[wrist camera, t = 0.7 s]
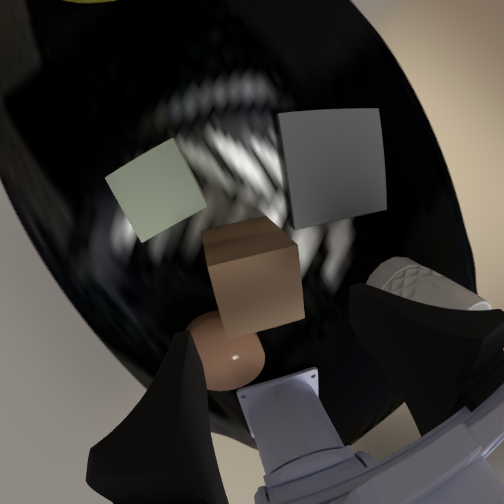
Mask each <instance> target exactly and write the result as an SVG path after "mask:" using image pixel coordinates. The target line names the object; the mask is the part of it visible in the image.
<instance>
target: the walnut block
mask: <svg viewBox="0 0 504 504" xmlns="http://www.w3.org/2000/svg"><path fill="white" fill-rule="evenodd" d="M201 233H202V239H203V245H204V250H205V256H206V261H207V267H208V271H209V275H210V279H211V282H212V286H213V290H214V294H215V298H216V301H217V305H218V309H219V312H220V316H221V320H222V323H223V327H224V330H225V334H226V337H227V339H231V338H235V337H239V336H243V335H247V334H251V333H255V332H258V331H262V330H266V329H269V328H273V327H276V326H280V325H283V324H287V323H290V322H293V321H297V320H300V319H303V318H305V315H304V303H303V292H302V281H301V271H300V261H299V252H298V245H297V244H296V243H295V242H294V241H293V240H292V239H291V238H290V237H289V236H288V235H287V234H285V233H284V232H283V231H282V230H281V229H280V228H279V227H278V226H277V225H276V224H274V223H273V222H272V221H271V220H270V219H269V218H268V217H267V216H264V217H260V218H255V219H251V220H246V221H242V222H237V223H233V224H229V225H224V226H220V227H216V228H211V229H207V230H203V231H201Z"/></svg>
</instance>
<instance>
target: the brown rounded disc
mask: <svg viewBox="0 0 504 504" xmlns="http://www.w3.org/2000/svg"><path fill="white" fill-rule="evenodd" d="M187 330H190V332H191V334H192V337H193V340H194V343H195V345H196V348H197V351H198V353H199V356H200V358H201V361H202V363H203V368H204V373H205V378H206V384H207V389H208V390H213V391H227V390H233V389H237V388H240V387H242V386H244V385H246V384H248V383H250V382H251V381H252V380H254V379H255V378H256V377H257V376H258V375H259V373H260V372H261V370H262V368H263V366H264V362H265V354H264V351H263V348H262V345H261V343H260V340H259V338H258V335H257V333H256V332H255V333H251V334H247V335H243V336H239V337H235V338H231V339H227V337H226V334H225V330H224V327H223V323H222V320H221V316H220V312H219V310H215V311H210V312H207V313H204V314H202V315H200V316H198V317H197V318H195V319H194V320H193V321H192V322H191V323H190V324H189V325H188V327H187V328H186V330H185V331H187Z"/></svg>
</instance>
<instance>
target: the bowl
mask: <svg viewBox="0 0 504 504" xmlns="http://www.w3.org/2000/svg"><path fill="white" fill-rule="evenodd" d="M64 1H70V2H76V3H101V2H109V1H115V0H64Z"/></svg>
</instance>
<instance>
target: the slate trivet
mask: <svg viewBox="0 0 504 504" xmlns="http://www.w3.org/2000/svg"><path fill="white" fill-rule="evenodd" d="M276 117H277V123H278V129H279V136H280V142H281V148H282V155H283V161H284V168H285V175H286V182H287V189H288V196H289V203H290V211H291V219H292V227H293V229H294V230H297V229H302V228H306V227H311V226H315V225H319V224H324V223H328V222H333V221H337V220H342V219H346V218H351V217H355V216H360V215H364V214H369V213H373V212H378V211H382V210H387V199H386V177H385V163H384V151H383V140H382V131H381V123H380V116H379V109H378V108H355V109H326V110H310V111H297V112H287V113H278V114H276Z"/></svg>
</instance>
